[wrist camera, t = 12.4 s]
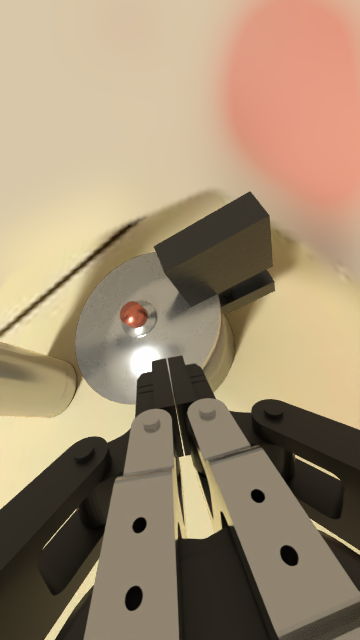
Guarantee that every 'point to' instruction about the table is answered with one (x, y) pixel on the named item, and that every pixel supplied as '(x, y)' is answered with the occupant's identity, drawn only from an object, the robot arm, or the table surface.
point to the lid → (169, 299)
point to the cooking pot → (229, 301)
